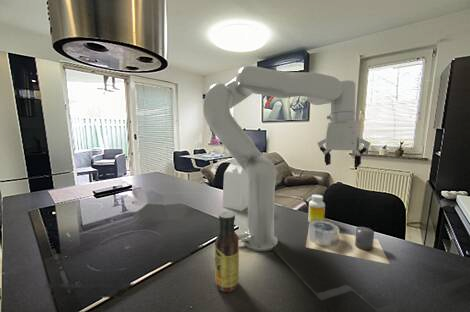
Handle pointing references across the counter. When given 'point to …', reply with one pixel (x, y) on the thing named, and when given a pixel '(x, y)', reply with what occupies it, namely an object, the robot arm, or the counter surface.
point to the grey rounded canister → (364, 238)
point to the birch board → (352, 249)
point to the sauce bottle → (226, 254)
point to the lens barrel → (323, 233)
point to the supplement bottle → (316, 209)
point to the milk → (235, 187)
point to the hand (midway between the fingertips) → (341, 165)
